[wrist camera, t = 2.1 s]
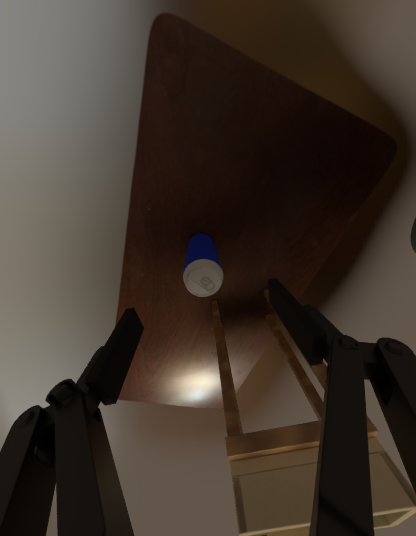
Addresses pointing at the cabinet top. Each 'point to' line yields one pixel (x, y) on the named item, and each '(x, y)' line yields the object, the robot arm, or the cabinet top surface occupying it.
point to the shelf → (275, 438)
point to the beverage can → (202, 267)
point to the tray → (309, 492)
